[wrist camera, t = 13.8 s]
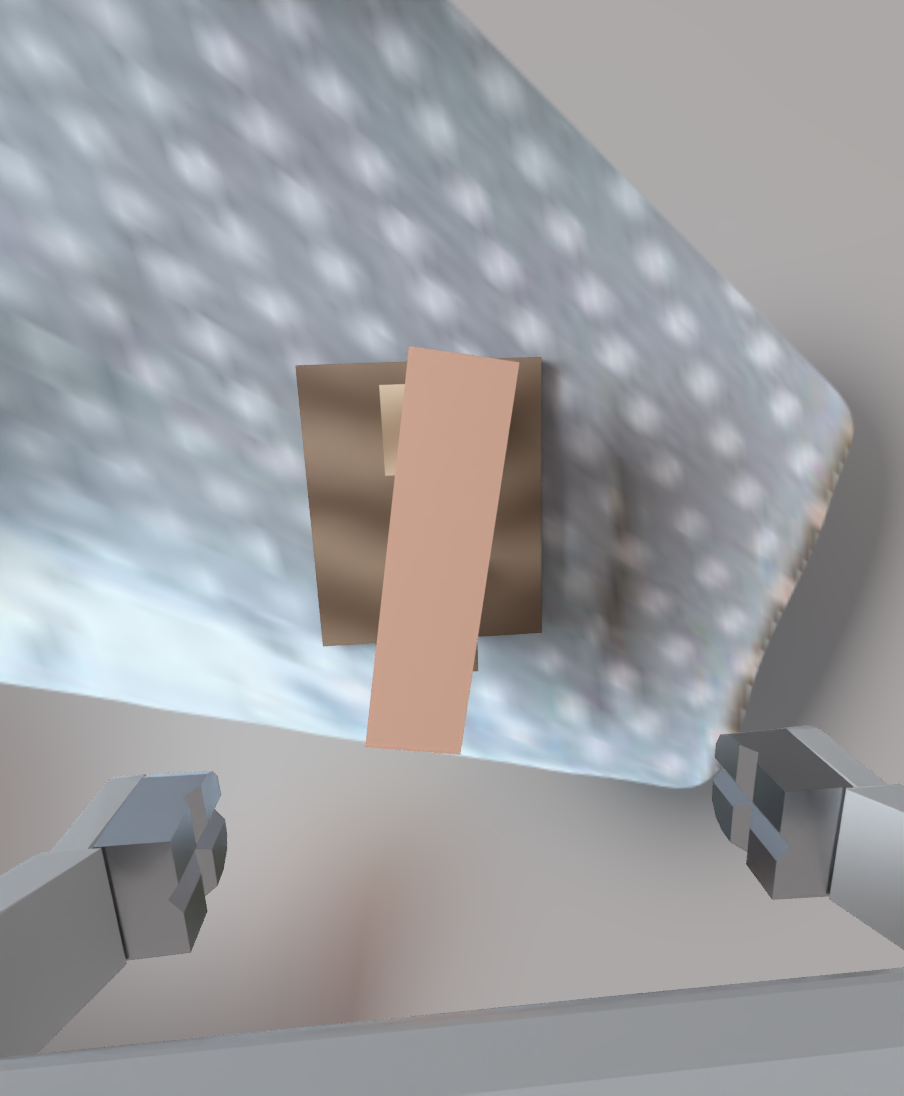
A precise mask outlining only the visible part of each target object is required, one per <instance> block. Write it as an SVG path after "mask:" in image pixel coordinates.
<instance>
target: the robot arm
mask: <svg viewBox="0 0 904 1096" xmlns="http://www.w3.org/2000/svg"><path fill="white" fill-rule="evenodd" d="M715 758H716V760H717V761H718V762H719V764H720V765H721V766H722V768H723V769H722V770H721V771H720V772H719V774H718V775H717V776H716V777H715V779H714V780H713V785H712V802H713V806H714V811H715V816H716V819H717V821H718V823H719V825H720V827H721V830H722V831H723V833H724V834H725V836H726V837H727V838H728V840H729V841H730V842H731V843H732V844H734V845H736V846H738V847H740V848H741V849H743V850H745V851H746V852H747V860H746V861H747V862H746V865H747V866H748V867H749V869H750V870H751V872H752V873H753V874H754V876H755V877H756V878H757V880H758V881H759V882H760V884H761V885H762V886H763V888H764V889H765V891H766V892H767V893H768V895H769V896H770V897H771V899H773V900H774V899H791V898H808V897H824V896H829V899H830V900H831V901H833V902H834V903H836V904H837V905H839V906H840V907H841V908H843V909H844V910H846V911H847V912H849V913H850V914H852V915H853V916H855V917H856V918H858V919H859V920H861V921H862V922H864V923H865V924H866V925H868V926H870V927H871V928H872V929H874V930H875V931H877V932H878V933H880V934H881V935H883V936H884V937H886V938H887V939H888V940H890V941H891V942H893V943H894V944H896V945H897V946H899V947H900V948H902V949H903V950H904V786H903V785H900V784H893V785H889V784H888V783H887V782H885V781H884V780H883V779H882V778H880V777H879V776H878V775H876V774H875V773H874V772H873V771H872V770H870V769H869V768H868V767H866V766H865V765H864V764H863V763H861V762H860V761H859V760H858V759H856V758H855V757H854V756H852V755H851V754H850V753H849V752H848V751H846V750H845V749H844V748H843V747H841V746H840V745H839V744H838V743H836V742H835V741H834V740H832V739H831V738H830V737H829V736H827V735H826V734H825V733H824V732H822V731H821V730H820V729H819V728H816V727H812V726H809V725H807V726H799V727H790V728H780V729H776V730H765V731H754V732H743V733H732V734H722V735H720V736H719V738H718V741H717V743H716V750H715ZM220 796H221V791H220V786H219V781H218V776H217V775H216V774H215V773H214V772H213V771H202V772H184V773H164V774H149V775H145V774H143V775H131V776H119V777H115V778H112V779H109V780H108V781H107V782H106V783H105V784H104V786H103V787H102V788H101V789H100V791H99V792H98V793H97V794H96V796H95V797H94V798H93V799H92V801H91V802H90V803H89V804H88V805H87V807H86V808H85V809H84V810H83V812H82V813H81V814H80V815H79V817H78V818H77V819H76V821H75V822H74V823H73V824H72V825H71V826H70V828H69V829H68V830H67V831H66V833H65V834H64V835H63V837H62V838H61V839H60V840H59V841H58V843H57V844H56V845H55V846H54V848H53V849H52V850H51V851H50V852H46V853H45V852H44V853H38V854H36V855H35V856H33V857H31V858H29V859H28V860H26V861H24V862H22V863H21V864H19V865H17V866H16V867H14V868H12V869H11V870H9V871H7V872H6V873H4V874H2V875H1V876H0V1096H904V967H902V968H892V969H883V970H872V971H862V972H853V973H842V974H832V975H821V976H811V977H801V978H791V979H780V980H770V981H760V982H750V983H740V984H729V985H719V986H709V987H699V988H689V989H678V990H669V991H659V992H648V993H637V994H628V995H618V996H608V997H598V998H589V999H578V1000H569V1001H558V1002H549V1003H539V1004H529V1005H520V1006H509V1007H499V1008H490V1009H480V1010H471V1011H460V1012H450V1013H440V1014H430V1015H420V1016H410V1017H402V1018H391V1019H381V1020H372V1021H362V1022H351V1023H341V1024H331V1025H321V1026H312V1027H302V1028H291V1029H281V1030H271V1031H261V1032H251V1033H241V1034H231V1035H221V1036H211V1037H201V1038H191V1039H181V1040H170V1041H161V1042H150V1043H140V1044H130V1045H120V1046H111V1047H102V1048H90V1049H81V1050H70V1051H60V1052H50V1053H40V1054H37V1053H38V1052H39V1051H40V1050H41V1049H42V1048H43V1047H44V1046H45V1045H46V1044H47V1043H48V1042H49V1041H50V1040H51V1039H52V1038H53V1037H54V1036H55V1035H56V1034H57V1033H58V1032H59V1031H60V1030H61V1029H62V1028H63V1027H64V1026H65V1025H66V1024H67V1023H68V1022H69V1021H70V1020H71V1019H72V1018H73V1017H74V1016H75V1015H76V1014H77V1013H78V1012H79V1011H80V1010H81V1009H82V1008H83V1007H84V1006H85V1005H86V1004H87V1003H88V1002H89V1001H90V1000H91V999H92V998H93V997H94V996H95V995H96V994H97V993H98V992H99V991H100V990H101V989H102V988H103V987H104V986H105V985H106V984H107V983H108V982H109V981H110V980H111V979H112V978H113V977H114V976H115V975H116V974H117V973H118V972H119V971H120V970H121V969H122V968H123V967H124V966H125V965H126V960H134V959H143V958H151V957H159V956H167V955H175V954H184V953H190V952H191V951H192V948H193V946H194V943H195V941H196V938H197V936H198V933H199V931H200V928H201V925H202V923H203V921H204V918H205V916H206V913H207V906H206V900H205V896H206V895H207V894H208V893H210V892H211V891H212V890H213V889H214V888H215V887H217V886H218V883H219V880H220V878H221V875H222V872H223V870H224V864H225V857H226V852H227V830H226V823H225V819H224V818H223V817H222V816H221V815H220V814H219V813H218V812H217V811H216V810H215V807H216V804H217V802H218V800H219V798H220Z"/></svg>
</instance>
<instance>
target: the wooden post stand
mask: <svg viewBox="0 0 904 1096" xmlns="http://www.w3.org/2000/svg"><path fill="white" fill-rule="evenodd" d="M499 359H500V360H507V361H514V362H519V369H518V375H517V382H516V389H515V395H514V402H513V408H512V415H511V422H510V428H509V435H508V442H507V448H506V455H505V461H504V468H503V475H502V481H501V488H500V494H499V501H498V508H497V514H496V521H495V527H494V534H493V541H492V547H491V554H490V560H489V567H488V574H487V580H486V587H485V594H484V600H483V607H482V613H481V620H480V627H479V633H478V637H479V636H495V635H511V634H527V633H542V558H541V357H528V358H499ZM406 370H407V362H385V363H356V364H327V365H299V366H296V376H297V386H298V396H299V406H300V416H301V427H302V437H303V447H304V457H305V467H306V477H307V488H308V498H309V508H310V518H311V528H312V538H313V549H314V559H315V569H316V579H317V589H318V599H319V609H320V620H321V630H322V640H323V646H336V645H352V644H368V643H377V635H378V626H379V617H380V608H381V599H382V590H383V580H384V571H385V562H386V553H387V544H388V535H389V525H390V516H391V507H392V498H393V489H394V480H395V470H396V461H397V452H398V443H399V434H400V425H401V415H402V406H403V397H404V388H405V379H406ZM473 671H478V650H477V646H476V653H475V660H474V666H473Z"/></svg>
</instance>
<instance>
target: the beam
mask: <svg viewBox="0 0 904 1096" xmlns="http://www.w3.org/2000/svg"><path fill="white" fill-rule="evenodd" d="M518 369H519V362H514V361H507V360H500V359H493V358H487V357H480V356H473V355H466V354H459V353H452V352H445V351H438V350H432V349H425V348H418V347H411V346H409V351H408V360H407V370H406V379H405V388H404V397H403V406H402V415H401V425H400V434H399V443H398V452H397V461H396V470H395V480H394V489H393V498H392V507H391V516H390V525H389V535H388V544H387V553H386V562H385V571H384V580H383V590H382V599H381V608H380V617H379V626H378V635H377V645H376V654H375V663H374V672H373V681H372V690H371V700H370V709H369V718H368V727H367V736H366V745H365V747H370V748H382V749H395V750H408V751H421V752H422V751H423V752H434V753H447V754H460V752H461V746H462V739H463V732H464V726H465V719H466V712H467V706H468V699H469V693H470V686H471V679H472V673H473V666H474V660H475V653H476V646H477V640H478V633H479V627H480V620H481V613H482V607H483V600H484V594H485V587H486V580H487V574H488V567H489V560H490V554H491V547H492V541H493V534H494V527H495V521H496V514H497V508H498V501H499V494H500V488H501V481H502V475H503V468H504V461H505V455H506V448H507V442H508V435H509V428H510V422H511V415H512V408H513V402H514V395H515V389H516V382H517V375H518Z"/></svg>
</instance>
